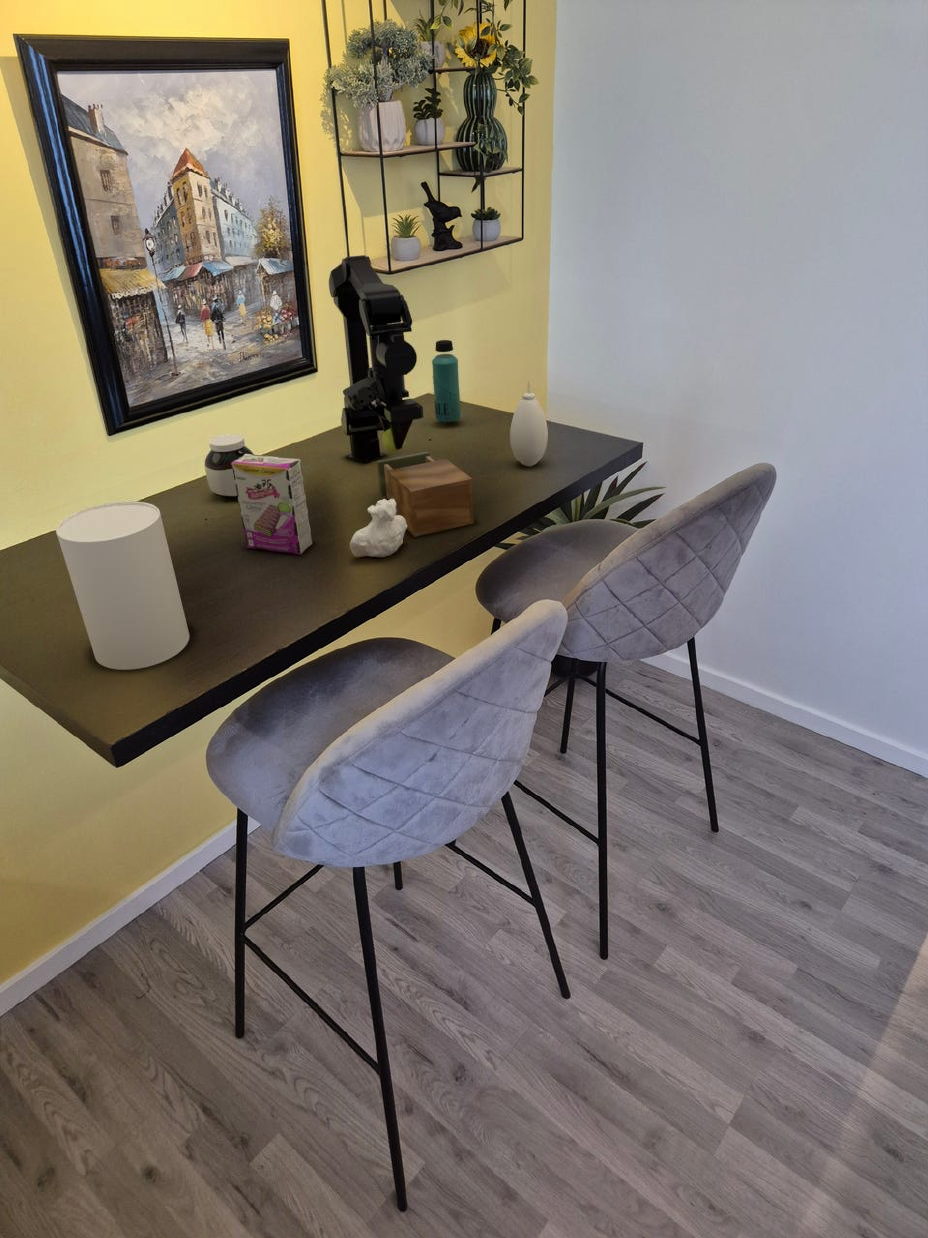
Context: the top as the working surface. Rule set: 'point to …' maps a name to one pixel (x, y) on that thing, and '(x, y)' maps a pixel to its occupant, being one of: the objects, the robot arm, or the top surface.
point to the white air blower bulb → (528, 430)
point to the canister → (124, 583)
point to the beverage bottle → (446, 383)
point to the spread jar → (224, 464)
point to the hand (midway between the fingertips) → (394, 445)
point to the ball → (389, 441)
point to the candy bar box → (272, 503)
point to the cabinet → (432, 496)
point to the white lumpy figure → (380, 531)
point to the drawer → (395, 464)
